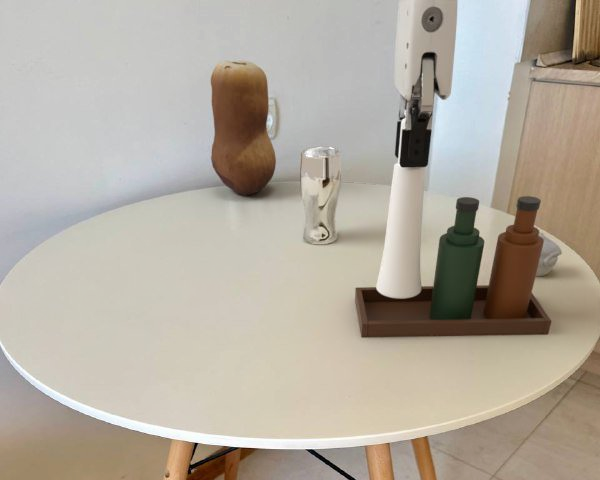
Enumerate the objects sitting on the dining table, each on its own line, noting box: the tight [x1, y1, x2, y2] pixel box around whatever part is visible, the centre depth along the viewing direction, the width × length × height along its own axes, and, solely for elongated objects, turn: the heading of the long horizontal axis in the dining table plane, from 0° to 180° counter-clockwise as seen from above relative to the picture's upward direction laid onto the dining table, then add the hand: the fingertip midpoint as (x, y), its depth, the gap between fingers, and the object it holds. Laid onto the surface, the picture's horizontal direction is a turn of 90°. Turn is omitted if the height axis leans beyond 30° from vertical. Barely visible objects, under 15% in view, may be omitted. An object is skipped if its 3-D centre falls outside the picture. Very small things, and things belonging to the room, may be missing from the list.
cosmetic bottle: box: [375, 108, 426, 299], centre depth 73 cm, size 6×6×22 cm
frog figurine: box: [536, 231, 563, 277], centre depth 91 cm, size 6×7×7 cm
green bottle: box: [430, 196, 486, 320], centre depth 77 cm, size 6×6×16 cm
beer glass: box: [299, 146, 342, 246], centre depth 103 cm, size 7×7×15 cm
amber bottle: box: [483, 195, 544, 319], centre depth 77 cm, size 6×6×16 cm
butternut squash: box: [210, 60, 277, 197], centre depth 122 cm, size 14×13×25 cm
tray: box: [354, 284, 552, 339], centre depth 82 cm, size 25×11×3 cm, turn 90°
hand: (410, 160), depth 69 cm, fingers closed on cosmetic bottle, 3 cm apart
